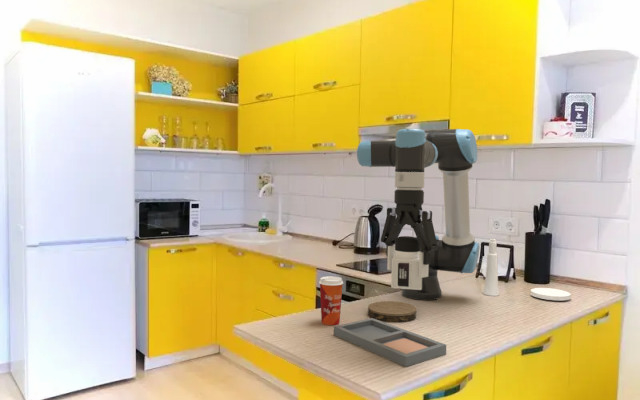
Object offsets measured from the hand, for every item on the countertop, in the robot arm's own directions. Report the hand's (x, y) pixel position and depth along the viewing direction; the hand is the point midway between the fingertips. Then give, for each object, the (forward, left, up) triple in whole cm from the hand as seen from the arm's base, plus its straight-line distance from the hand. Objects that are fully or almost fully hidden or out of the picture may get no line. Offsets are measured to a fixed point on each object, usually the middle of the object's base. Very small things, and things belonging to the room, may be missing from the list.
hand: (407, 273), depth 127 cm
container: (0, 0, -4) cm, 4 cm away
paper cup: (-31, -1, -21) cm, 37 cm away
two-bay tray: (-7, 0, -21) cm, 22 cm away
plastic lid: (-9, +90, -21) cm, 93 cm away
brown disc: (-26, +21, -21) cm, 39 cm away
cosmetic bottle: (-25, +75, -21) cm, 82 cm away
